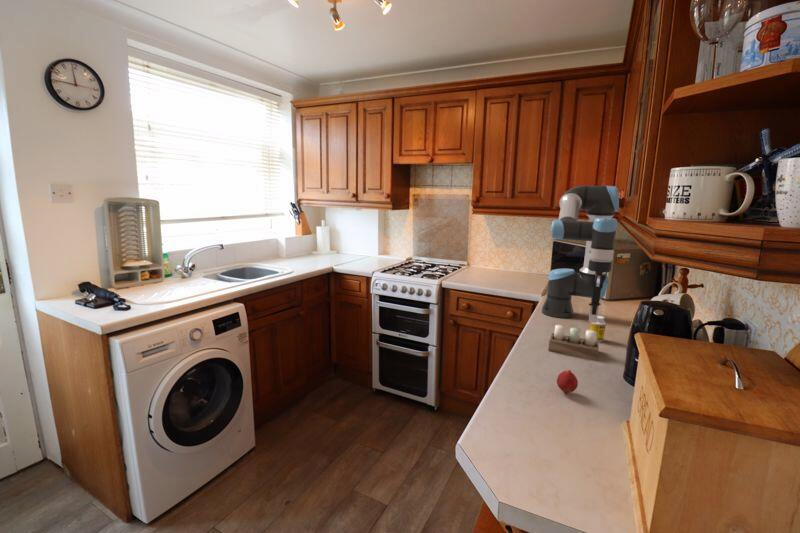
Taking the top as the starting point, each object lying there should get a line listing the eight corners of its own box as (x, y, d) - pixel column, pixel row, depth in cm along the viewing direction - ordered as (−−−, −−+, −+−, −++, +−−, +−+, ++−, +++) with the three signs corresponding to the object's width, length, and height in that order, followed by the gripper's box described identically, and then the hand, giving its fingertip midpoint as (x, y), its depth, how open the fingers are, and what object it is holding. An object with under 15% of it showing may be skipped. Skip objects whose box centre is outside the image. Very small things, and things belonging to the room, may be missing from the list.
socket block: (551, 342, 156) (552, 333, 155) (597, 350, 148) (598, 341, 148) (548, 350, 147) (549, 341, 146) (597, 360, 140) (598, 350, 139)
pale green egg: (569, 339, 149) (570, 326, 148) (579, 341, 148) (580, 328, 147) (568, 342, 146) (570, 329, 145) (578, 344, 145) (580, 331, 144)
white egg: (584, 342, 147) (586, 329, 146) (594, 344, 145) (596, 331, 144) (584, 345, 144) (585, 332, 143) (594, 347, 142) (596, 333, 141)
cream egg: (554, 336, 152) (555, 324, 151) (563, 338, 150) (565, 325, 149) (553, 339, 149) (554, 326, 148) (563, 341, 147) (564, 328, 146)
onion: (551, 391, 116) (554, 367, 114) (562, 386, 119) (564, 363, 118) (569, 400, 111) (572, 375, 110) (580, 394, 115) (583, 370, 113)
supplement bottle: (598, 343, 156) (601, 319, 154) (585, 339, 161) (588, 316, 159) (606, 340, 159) (609, 317, 157) (593, 336, 164) (596, 314, 162)
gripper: (589, 257, 146) (582, 316, 150) (588, 261, 134) (581, 325, 138) (611, 259, 142) (603, 319, 147) (612, 263, 131) (604, 328, 135)
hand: (592, 322), depth 142 cm, fingers closed
